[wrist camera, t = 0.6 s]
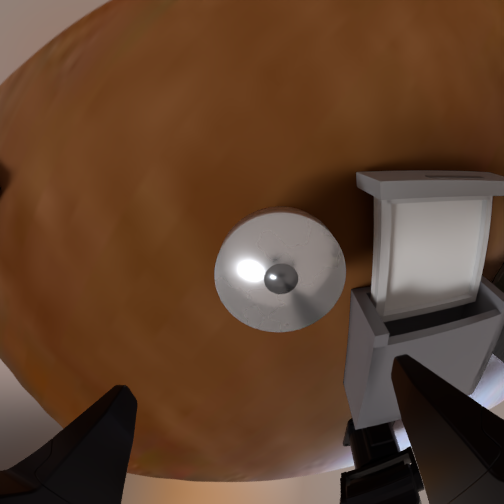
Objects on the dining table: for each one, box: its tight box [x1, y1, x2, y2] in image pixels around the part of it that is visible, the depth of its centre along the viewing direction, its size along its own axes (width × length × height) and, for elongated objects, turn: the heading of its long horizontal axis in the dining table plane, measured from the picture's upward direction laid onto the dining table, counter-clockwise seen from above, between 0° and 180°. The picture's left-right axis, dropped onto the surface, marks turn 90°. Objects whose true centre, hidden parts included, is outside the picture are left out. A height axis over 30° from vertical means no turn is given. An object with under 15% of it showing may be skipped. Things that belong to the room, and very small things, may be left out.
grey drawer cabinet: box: [343, 275, 504, 430], centre depth 20 cm, size 11×13×6 cm
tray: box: [356, 170, 504, 322], centre depth 17 cm, size 11×13×4 cm
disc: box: [215, 207, 346, 332], centre depth 16 cm, size 7×7×2 cm
